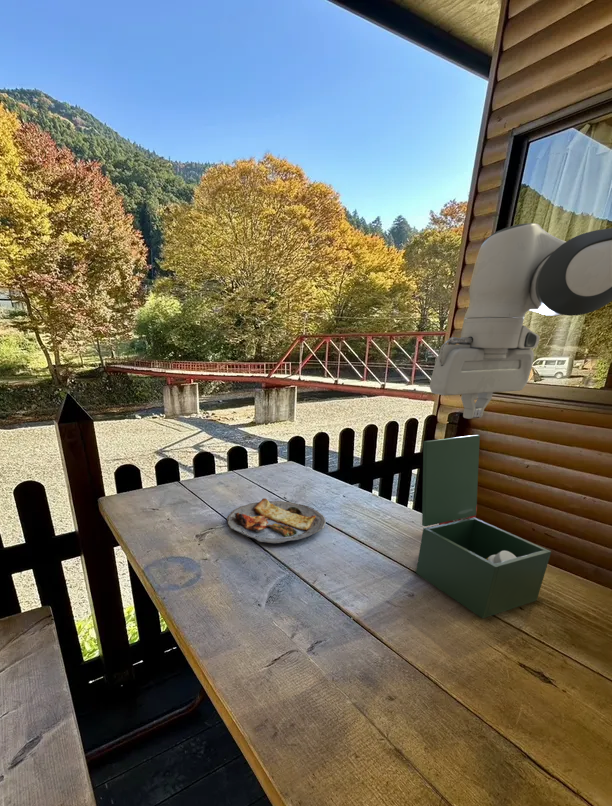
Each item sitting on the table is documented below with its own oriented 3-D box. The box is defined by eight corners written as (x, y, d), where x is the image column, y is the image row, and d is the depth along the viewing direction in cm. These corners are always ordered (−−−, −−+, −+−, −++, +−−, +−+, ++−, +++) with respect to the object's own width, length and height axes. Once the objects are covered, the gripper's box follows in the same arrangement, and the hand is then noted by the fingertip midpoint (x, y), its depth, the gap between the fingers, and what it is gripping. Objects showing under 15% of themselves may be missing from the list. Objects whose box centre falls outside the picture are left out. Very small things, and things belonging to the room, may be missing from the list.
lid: (479, 434, 81) (476, 434, 82) (426, 441, 76) (423, 441, 77) (476, 515, 84) (472, 514, 85) (425, 526, 79) (421, 525, 80)
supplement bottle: (461, 572, 79) (492, 549, 72) (479, 568, 80) (510, 546, 74) (476, 595, 76) (509, 574, 70) (494, 590, 78) (528, 570, 71)
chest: (536, 603, 75) (551, 551, 71) (482, 621, 70) (495, 567, 66) (464, 562, 89) (474, 517, 85) (415, 575, 84) (423, 528, 80)
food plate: (209, 524, 107) (209, 512, 106) (270, 501, 122) (270, 490, 121) (282, 559, 90) (282, 545, 89) (341, 527, 105) (342, 514, 104)
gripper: (459, 337, 64) (443, 425, 69) (546, 337, 71) (526, 417, 76) (428, 336, 69) (415, 418, 74) (512, 337, 76) (495, 411, 81)
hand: (472, 417), depth 75 cm, fingers closed
